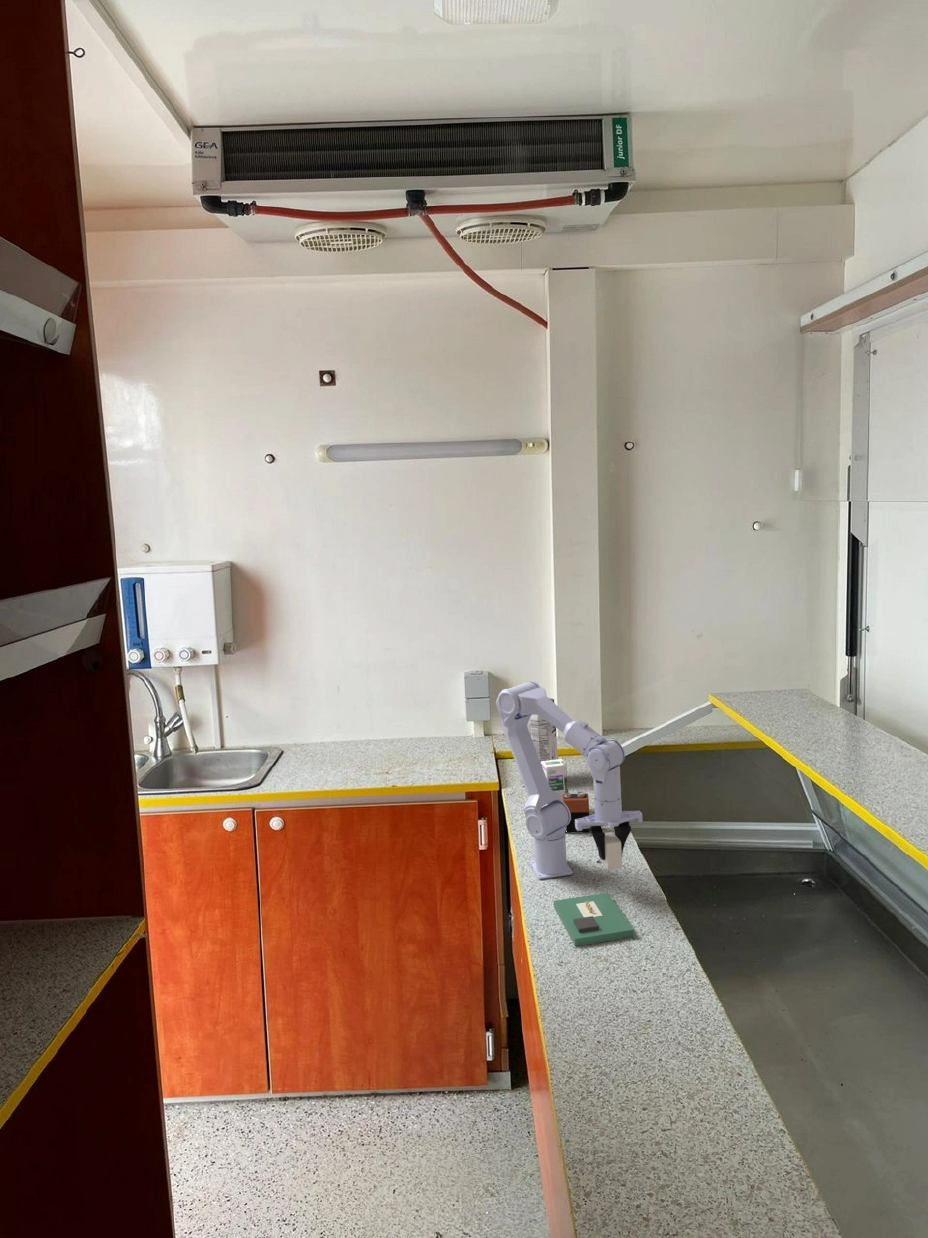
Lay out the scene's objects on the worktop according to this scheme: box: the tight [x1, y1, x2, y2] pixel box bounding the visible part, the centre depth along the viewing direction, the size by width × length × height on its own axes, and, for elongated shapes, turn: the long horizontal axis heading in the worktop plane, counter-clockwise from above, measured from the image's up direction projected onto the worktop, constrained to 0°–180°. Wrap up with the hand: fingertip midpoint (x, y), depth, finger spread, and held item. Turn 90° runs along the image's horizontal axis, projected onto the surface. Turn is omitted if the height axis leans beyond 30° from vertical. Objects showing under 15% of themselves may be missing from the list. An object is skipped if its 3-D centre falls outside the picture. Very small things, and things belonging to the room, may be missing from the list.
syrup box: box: [541, 758, 569, 807], centre depth 235 cm, size 6×6×14 cm
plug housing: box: [599, 831, 623, 871], centre depth 191 cm, size 7×3×6 cm, turn 9°
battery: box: [562, 790, 591, 833], centre depth 224 cm, size 4×7×10 cm, turn 83°
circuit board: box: [553, 892, 635, 947], centre depth 180 cm, size 16×12×3 cm
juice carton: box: [519, 697, 559, 783], centre depth 257 cm, size 9×10×27 cm
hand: (610, 856), depth 190 cm, fingers closed on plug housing, 3 cm apart
